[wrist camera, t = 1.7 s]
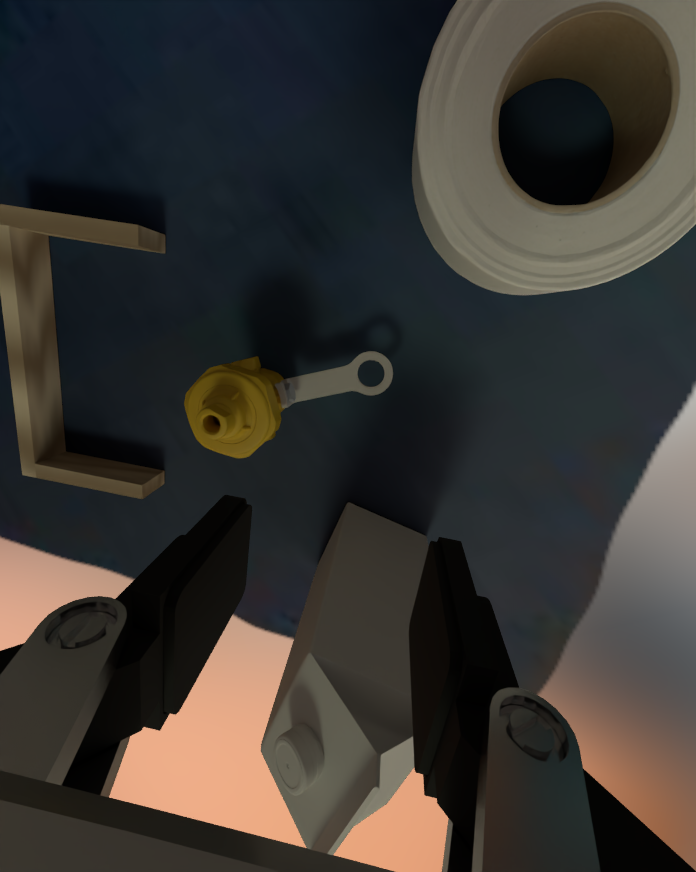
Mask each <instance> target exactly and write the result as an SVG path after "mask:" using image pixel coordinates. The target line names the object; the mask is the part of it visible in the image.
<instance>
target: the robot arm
mask: <svg viewBox="0 0 696 872" xmlns="http://www.w3.org/2000/svg"><path fill="white" fill-rule="evenodd" d="M251 516H252V506H251V505H248V504H247V502H246V499H245V498H240V497H234V496H229V495H224V496H223V497H222V498H221V499H220V500H219V501H218V502H217V503H216V504H215V505H214V506H213V507H212V508H211V509H210V510H209V511H208V512H207V513H206V515H205V516H204V517H203V518H202V519H201V520H200V521H199V522H198V523H197V524H196V525H195V526H194V527H193V528H192V529H191V530H190V531H189V532H188V533H187V534H186V535H180V536H179V537H177V538H176V539H175V540H174V541H173V542H172V543H171V544H170V545H169V546H168V547H167V548H166V549H165V550H164V551H163V552H162V553H161V554H160V555H159V556H158V557H157V558H156V559H155V560H154V561H153V562H152V563H151V564H150V565H149V566H148V567H147V568H146V569H145V570H144V571H143V572H142V573H141V574H140V575H139V576H138V577H137V578H136V579H135V580H134V581H133V582H132V583H131V584H130V585H129V586H128V587H127V588H126V589H125V590H124V591H123V592H122V593H121V594H120V595H119V596H118V597H117V598H116V599H113V598H110V597H102V596H98V597H87V598H83V599H79V600H75V601H73V602H70V603H68V604H66V605H63V606H61V607H59V608H58V609H57V610H55V611H53V612H52V613H50V614H49V615H48V616H47V617H46V618H45V619H44V620H43V621H42V622H41V623H40V624H39V625H38V626H37V628H36V629H35V630H34V632H33V633H32V634H31V636H30V637H29V638H28V639H27V641H26V642H25V643H24V644H20V645H17V646H15V647H11V648H8V649H5V650H2V651H0V872H394V871H390V870H387V869H383V868H379V867H375V866H371V865H368V864H364V863H360V862H357V861H353V860H349V859H345V858H341V857H338V856H334V855H330V854H326V853H322V852H318V851H315V850H311V849H307V848H303V847H299V846H295V845H291V844H288V843H284V842H280V841H276V840H272V839H268V838H265V837H261V836H257V835H253V834H249V833H245V832H242V831H238V830H234V829H230V828H226V827H222V826H218V825H214V824H210V823H206V822H203V821H199V820H195V819H191V818H187V817H183V816H179V815H176V814H172V813H168V812H164V811H160V810H156V809H152V808H148V807H144V806H140V805H137V804H133V803H129V802H124V801H121V800H117V799H113V798H109V795H110V792H111V789H112V787H113V784H114V781H115V778H116V775H117V773H118V770H119V767H120V764H121V762H122V758H123V756H124V753H125V750H126V748H127V745H128V742H129V738H130V736H131V735H133V734H135V733H137V732H139V731H141V730H142V728H143V727H147V728H152V729H156V730H160V729H161V728H162V726H163V724H164V722H165V721H166V719H167V717H168V715H169V714H170V713H171V714H177V713H178V712H179V710H180V709H181V707H182V705H183V703H184V701H185V700H186V698H187V696H188V694H189V692H190V690H191V689H192V687H193V685H194V683H195V682H196V680H197V678H198V676H199V674H200V673H201V671H202V669H203V667H204V665H205V663H206V662H207V660H208V658H209V656H210V654H211V653H212V651H213V649H214V647H215V645H216V644H217V642H218V640H219V638H220V636H221V635H222V633H223V631H224V629H225V627H226V625H227V624H228V622H229V620H230V618H231V616H232V615H233V613H234V611H235V609H236V607H237V606H238V604H239V602H240V600H241V598H242V596H243V593H244V590H245V586H246V575H247V563H248V552H249V540H250V528H251ZM409 653H410V676H411V700H412V724H413V748H414V767H415V771H416V773H420V774H423V777H424V794H425V795H426V796H430V797H434V798H437V803H438V804H439V806H440V807H441V808H442V810H443V811H444V812H445V814H446V815H447V816H448V818H449V820H448V828H447V835H446V843H445V852H444V859H443V867H442V872H696V871H695V870H694V869H693V868H692V867H691V866H690V865H688V864H687V863H686V862H685V861H684V860H683V859H682V858H681V857H680V856H678V855H677V854H676V853H675V852H674V851H673V850H672V849H671V848H670V847H669V846H667V845H666V844H665V843H664V842H663V841H662V840H661V839H660V838H659V837H658V836H657V835H656V834H654V833H653V832H652V831H651V830H650V829H649V828H648V827H647V826H646V825H645V824H643V823H642V822H641V821H640V820H639V819H638V818H637V817H636V816H635V815H633V814H632V813H631V812H630V811H629V810H628V809H627V808H626V807H625V806H624V805H622V804H621V803H620V802H619V801H618V800H617V799H616V798H615V797H614V796H613V795H612V794H610V793H609V792H608V791H607V790H606V789H605V788H604V787H603V786H602V785H601V784H599V783H598V782H597V781H596V780H595V779H594V778H593V777H592V776H591V775H590V774H588V773H587V772H586V771H585V770H584V769H583V767H582V761H581V755H580V750H579V746H578V742H577V739H576V736H575V734H574V732H573V730H572V729H571V727H570V725H569V724H568V722H567V721H566V719H565V718H564V717H563V716H562V715H561V714H560V713H559V712H558V710H557V709H556V708H554V707H553V706H552V705H551V704H549V703H548V702H547V701H546V700H544V699H543V698H541V697H539V696H538V695H536V694H534V693H532V692H530V691H527V690H524V689H521V688H519V686H518V683H517V680H516V677H515V674H514V671H513V668H512V665H511V662H510V659H509V656H508V653H507V650H506V647H505V644H504V641H503V638H502V635H501V632H500V629H499V626H498V623H497V620H496V617H495V614H494V611H493V608H492V605H491V603H490V601H489V599H488V598H486V597H481V596H477V594H476V591H475V587H474V584H473V580H472V577H471V574H470V570H469V567H468V563H467V560H466V557H465V553H464V550H463V547H462V543H461V541H457V540H452V539H447V538H442V537H439V538H438V541H437V542H434V541H431V542H430V544H429V548H428V552H427V556H426V560H425V563H424V567H423V571H422V575H421V579H420V583H419V587H418V591H417V595H416V599H415V603H414V607H413V611H412V615H411V619H410V624H409Z"/></svg>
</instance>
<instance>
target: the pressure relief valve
mask: <svg viewBox="0 0 696 872" xmlns="http://www.w3.org/2000/svg"><path fill="white" fill-rule="evenodd" d="M367 360H375V361H377V362H379V363H380V364H381V365H382V366H383V368H384V371H385V376H384V379H383V381H382V382H381V383H380V384H379V385H377V386H375V387H368V386H365V385H363V384H362V383H361V382H360V380H359V379H358V375H357V372H358V368H359V366H360V364H362V363H363V362H364V361H367ZM392 377H393V369H392V366H391V363H390V361H389V360H388V359H387V358H386V357H385V356H384V355H383V354H381V353H378V352H374V351H368V352H364V353H362V354H360V355H358V356H357V357H356V358H355V359H354V360H353V361H352V362H351V363H350V364H349V365H346V366H343V367H338V368H334V369H329V370H325V371H320V372H316V373H311V374H306V375H302V376H297V377H293V378H288V379H283V377H282V376H281V375H280V374H278V373H277V372H274V371H271V370H268V369H265V368H261V365H260V361H259V358H258V357H252V358H248V359H244V360H239V361H235V362H232V363H231V364H229V363H227V364H222V365H218V366H215V367H211V368H209V369H208V370H207V371H206V372H205V373H204V374H203V375H202V376H201V377H200V378H199V379H198V380H197V381H196V382H195V383H194V385H193V386H192V387H191V388H190V389H189V390H188V392H187V393H186V396H185V402H184V405H185V409H186V413H187V417H188V420H189V423H190V426H191V428H192V431H193V433H194V435H195V437H196V439H197V440H198V441H199V442H200V443H201V444H202V445H203V446H204V447H206V448H208V449H210V450H213V451H215V452H218V453H221V454H224V455H227V456H231V457H235V458H245V457H249V456H250V455H251V454H252V453H253V452H254V451H255V450H256V449H257V448H258V447H260V446H261V445H262V444H263V443H264V442H265V441H268V440H270V439H272V438H274V437H275V435H276V434H275V432H276V431H277V430H278V429H279V426H280V422H281V415H280V412H281V411H283V410H284V409H285V408H287V407H289V406H290V405H292V404H293V403H295V402H299V401H304V400H309V399H314V398H318V397H323V396H328V395H333V394H338V393H343V392H348V391H357V392H360V393H362V394H365V395H377V394H380V393H382V392H384V391H385V390H386V389H387V388H388V387H389V385H390V383H391V381H392Z"/></svg>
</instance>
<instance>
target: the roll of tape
mask: <svg viewBox="0 0 696 872" xmlns="http://www.w3.org/2000/svg"><path fill="white" fill-rule="evenodd" d="M552 78H565V79H571V80H574V81H577V82H580V83H582V84H584V85H586V86H588V87H589V88H591V89H592V90H593V91H594V92H595V93H596V94H597V95H598V96H599V98H600V99H601V101H602V102H603V104H604V105H605V106H606V108H607V110H608V112H609V115H610V118H611V121H612V126H613V131H614V145H613V153H612V158H611V162H610V165H609V169H608V172H607V174H606V177H605V179H604V181H603V183H602V184H601V186H600V188H599V189H598V190H597V192H596V193H595V194H594V196H593V197H592V198H591V200H590V201H589V202H588V203H587V204H582V205H551V204H547V203H544V202H541V201H539V200H537V199H534V198H532V197H531V196H529V195H528V194H527V193H526V192H524V191H523V190H522V189H521V188H520V187H519V186H518V185H517V184H516V183H515V182H514V180H513V179H512V177H511V176H510V174H509V173H508V171H507V169H506V166H505V164H504V161H503V159H502V155H501V151H500V146H499V138H498V122H499V113H500V107H501V106H502V105H503V104H504V103H505V102H506V101H507V100H508V99H509V98H510V97H511V96H513V95H514V94H515V93H516V92H518V91H519V90H521V89H522V88H524V87H526V86H528V85H530V84H533V83H535V82H538V81H541V80H545V79H552ZM412 185H413V191H414V199H415V203H416V207H417V210H418V214H419V218H420V221H421V223H422V225H423V228H424V230H425V232H426V234H427V236H428V238H429V240H430V242H431V244H432V245H433V247H434V248H435V250H436V251H437V252H438V253H439V255H440V256H441V257H442V258H443V259H444V261H445V262H446V263H447V264H448V265H449V266H450V267H451V268H452V269H453V270H454V271H456V272H457V273H458V274H460V275H461V276H463V277H464V278H466V279H468V280H469V281H471V282H472V283H474V284H476V285H479V286H481V287H483V288H486V289H488V290H492V291H495V292H500V293H505V294H512V295H536V294H545V293H552V292H560V291H568V290H575V289H581V288H586V287H590V286H594V285H597V284H601V283H604V282H607V281H610V280H613V279H615V278H617V277H620V276H622V275H624V274H627V273H629V272H631V271H633V270H634V269H636V268H638V267H640V266H642V265H643V264H645V263H647V262H649V261H650V260H652V259H653V258H655V257H657V256H658V255H659V254H661V253H662V252H664V251H665V250H666V249H668V248H669V247H670V246H672V245H673V244H674V243H675V242H677V241H678V240H679V239H680V238H681V237H682V236H683V235H685V234H686V233H687V232H688V231H689V230H690V229H691V228H692V227H693V226H694V225H695V224H696V0H457V1H456V3H455V5H454V6H453V7H452V9H451V10H450V12H449V14H448V16H447V18H446V20H445V22H444V25H443V27H442V29H441V31H440V33H439V35H438V37H437V39H436V42H435V44H434V46H433V49H432V52H431V55H430V58H429V62H428V65H427V68H426V71H425V75H424V78H423V81H422V85H421V89H420V93H419V99H418V107H417V117H416V127H415V137H414V146H413V155H412Z"/></svg>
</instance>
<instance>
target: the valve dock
mask: <svg viewBox="0 0 696 872" xmlns="http://www.w3.org/2000/svg"><path fill="white" fill-rule="evenodd" d="M48 235H49V236H55V237H62V238H68V239H75V240H81V241H88V242H94V243H101V244H107V245H113V246H120V247H126V248H133V249H139V250H146V251H152V252H158V253H165V235H164V234H161V233H158V232H156V231H153V230H150V229H148V228H145V227H142V226H139V225H134V224H128V223H121V222H114V221H108V220H101V219H95V218H88V217H81V216H75V215H68V214H61V213H55V212H48V211H42V210H35V209H28V208H22V207H15V206H8V205H2V204H0V294H1V302H2V310H3V318H4V327H5V335H6V343H7V351H8V360H9V368H10V376H11V384H12V393H13V401H14V409H15V417H16V426H17V434H18V442H19V451H20V459H21V467H22V475H26V476H31V477H36V478H41V479H46V480H50V481H55V482H60V483H65V484H70V485H75V486H80V487H85V488H90V489H95V490H100V491H105V492H110V493H115V494H120V495H125V496H130V497H135V498H140V499H143V498H145V497H146V496H147V495H149V494H150V493H152V492H153V491H155V490H156V489H157V488H159V487H160V486H162V485H163V484H164V471H163V470H158V469H153V468H148V467H143V466H138V465H133V464H128V463H122V462H117V461H112V460H107V459H102V458H97V457H92V456H87V455H82V454H76V453H71V452H66V447H65V435H64V422H63V410H62V398H61V385H60V373H59V361H58V348H57V336H56V324H55V311H54V299H53V287H52V274H51V262H50V250H49V237H48Z"/></svg>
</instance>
